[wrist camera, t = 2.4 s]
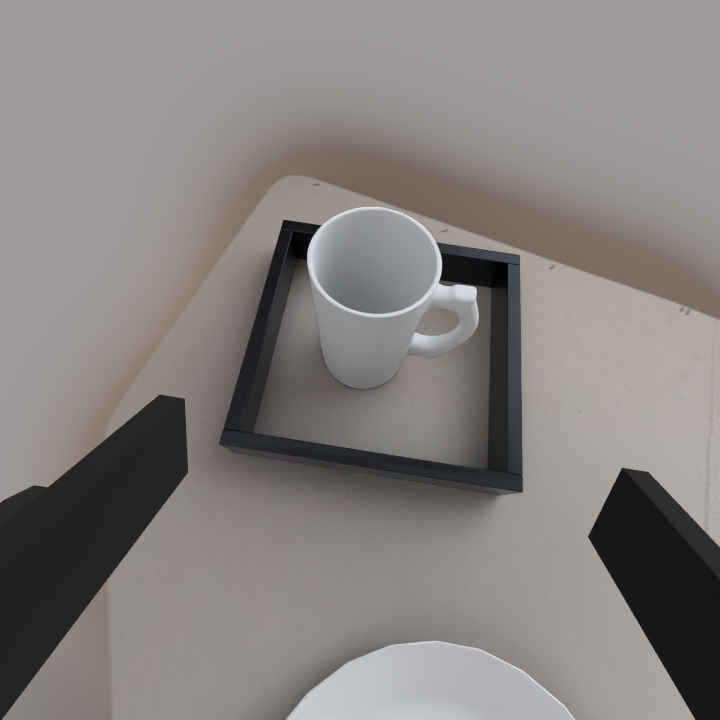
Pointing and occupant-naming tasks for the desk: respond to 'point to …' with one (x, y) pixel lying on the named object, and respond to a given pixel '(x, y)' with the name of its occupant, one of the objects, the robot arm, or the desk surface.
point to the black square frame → (498, 478)
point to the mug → (380, 294)
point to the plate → (429, 688)
